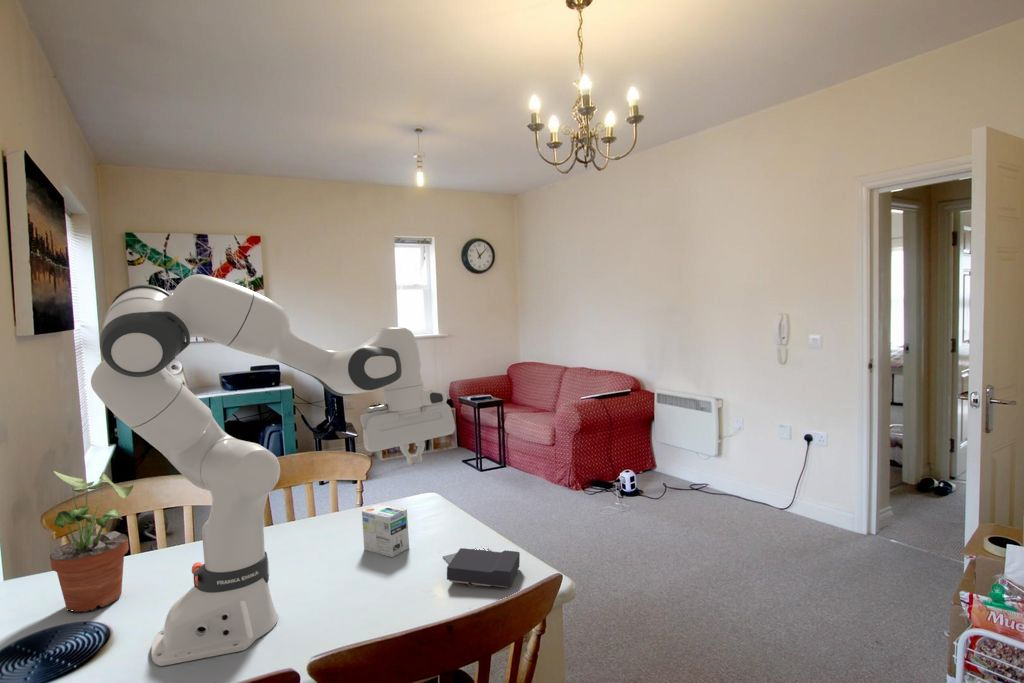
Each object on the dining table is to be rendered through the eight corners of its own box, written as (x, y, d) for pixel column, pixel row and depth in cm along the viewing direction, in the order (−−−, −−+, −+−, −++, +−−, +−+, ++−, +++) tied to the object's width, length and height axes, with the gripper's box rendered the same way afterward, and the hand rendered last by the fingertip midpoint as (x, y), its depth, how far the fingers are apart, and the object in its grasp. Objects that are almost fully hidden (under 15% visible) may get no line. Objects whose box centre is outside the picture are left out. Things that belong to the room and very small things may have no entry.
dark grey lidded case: (446, 583, 130) (510, 590, 127) (446, 564, 129) (510, 572, 126) (460, 562, 140) (519, 569, 137) (460, 545, 140) (520, 551, 137)
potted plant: (85, 625, 119) (70, 461, 117) (38, 614, 124) (23, 457, 122) (155, 589, 134) (143, 443, 131) (110, 581, 139) (98, 440, 137)
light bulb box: (410, 548, 151) (408, 508, 151) (392, 558, 146) (390, 517, 145) (381, 540, 157) (379, 502, 156) (362, 550, 151) (360, 510, 151)
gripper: (363, 409, 116) (373, 476, 116) (453, 392, 127) (462, 454, 126) (354, 409, 121) (364, 473, 121) (441, 393, 132) (450, 452, 132)
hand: (415, 463), depth 124 cm, fingers closed
